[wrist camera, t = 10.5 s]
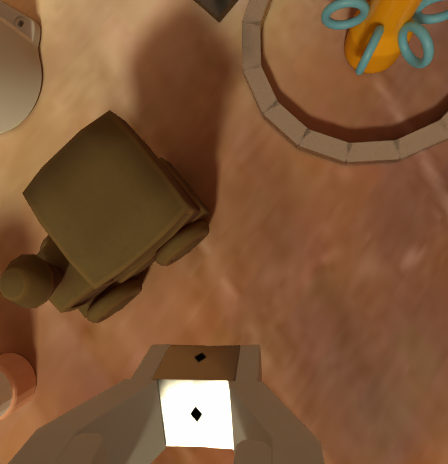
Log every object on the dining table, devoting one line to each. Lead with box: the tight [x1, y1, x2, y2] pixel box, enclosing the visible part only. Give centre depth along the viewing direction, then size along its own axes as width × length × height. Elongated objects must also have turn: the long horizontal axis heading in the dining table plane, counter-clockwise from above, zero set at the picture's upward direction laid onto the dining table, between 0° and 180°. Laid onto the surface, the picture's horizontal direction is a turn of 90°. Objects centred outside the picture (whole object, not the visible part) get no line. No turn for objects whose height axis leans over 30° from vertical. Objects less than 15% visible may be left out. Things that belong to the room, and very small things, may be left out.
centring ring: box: [242, 0, 448, 165], centre depth 37 cm, size 27×27×2 cm
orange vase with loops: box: [321, 0, 448, 75], centre depth 30 cm, size 12×10×15 cm
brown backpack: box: [0, 110, 211, 323], centre depth 34 cm, size 20×11×17 cm, turn 130°
